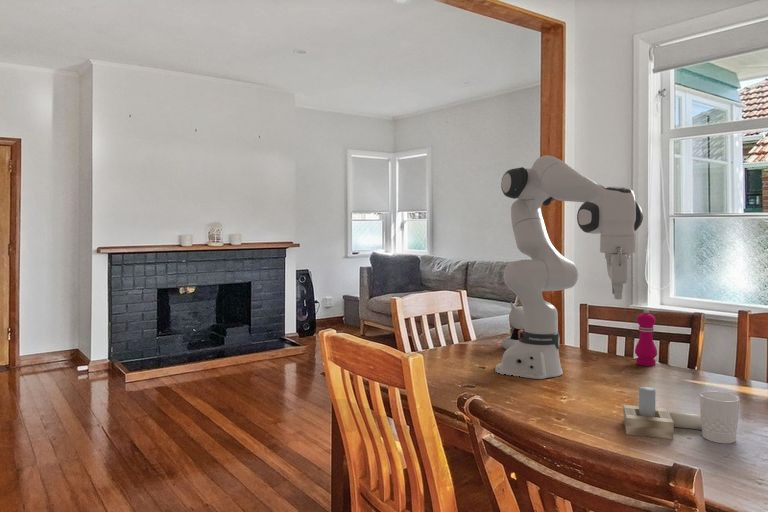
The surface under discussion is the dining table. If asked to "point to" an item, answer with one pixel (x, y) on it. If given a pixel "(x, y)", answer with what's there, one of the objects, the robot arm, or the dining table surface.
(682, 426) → the lying peg
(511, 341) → the decorative figurine
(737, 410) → the white cup
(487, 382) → the dining table surface
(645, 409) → the peg
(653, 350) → the pepper mill
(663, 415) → the socket
